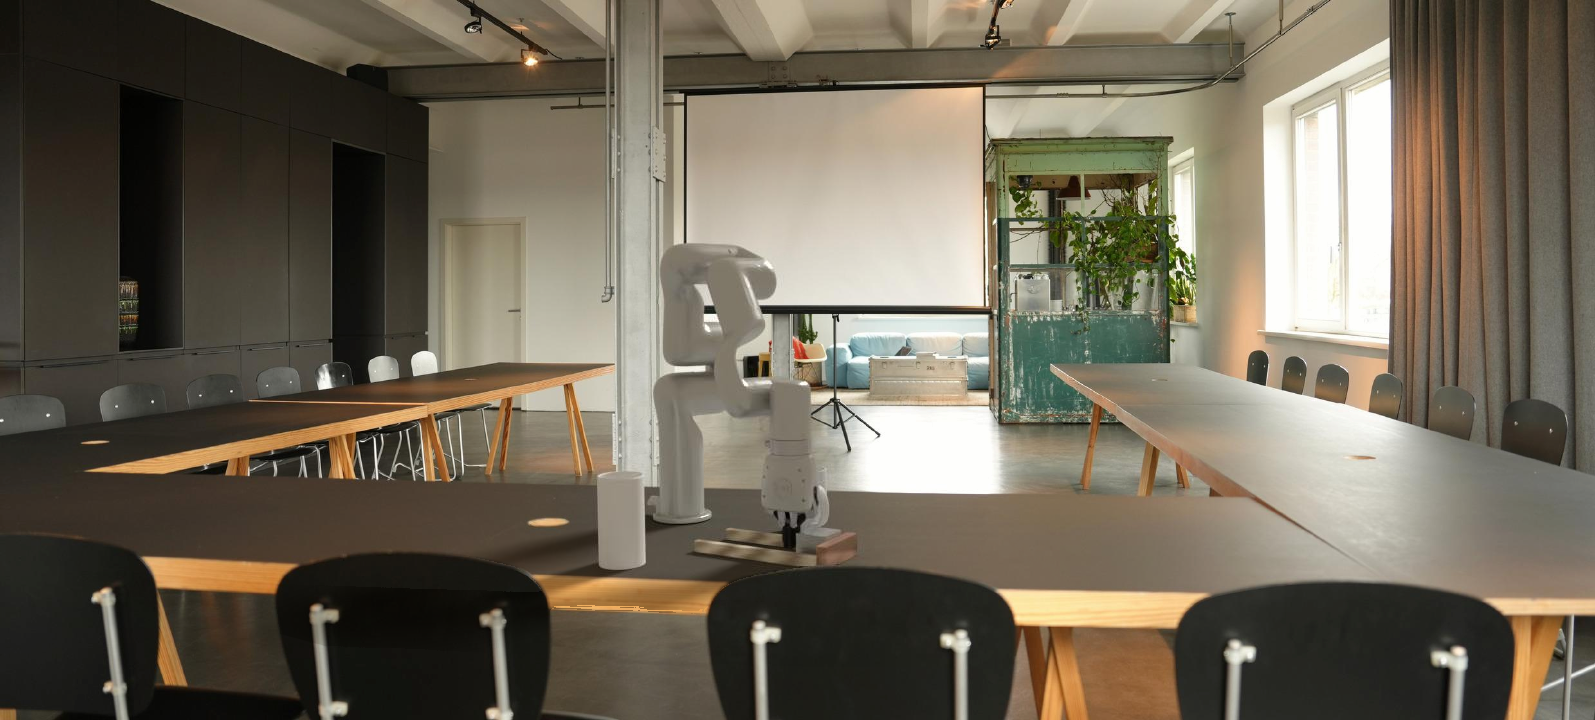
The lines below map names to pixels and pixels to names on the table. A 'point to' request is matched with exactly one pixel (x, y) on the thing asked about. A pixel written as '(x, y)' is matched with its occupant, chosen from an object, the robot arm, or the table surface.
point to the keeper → (814, 538)
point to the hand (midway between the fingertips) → (791, 546)
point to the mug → (823, 502)
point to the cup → (621, 520)
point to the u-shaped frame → (825, 554)
